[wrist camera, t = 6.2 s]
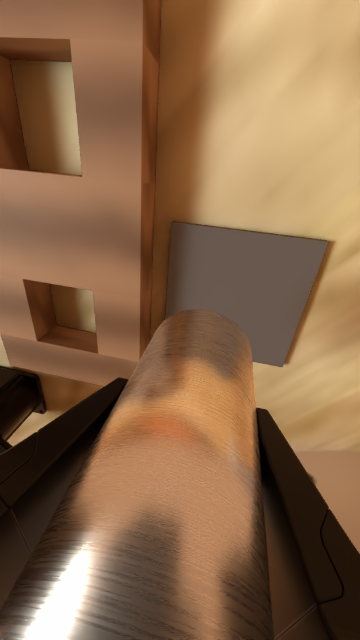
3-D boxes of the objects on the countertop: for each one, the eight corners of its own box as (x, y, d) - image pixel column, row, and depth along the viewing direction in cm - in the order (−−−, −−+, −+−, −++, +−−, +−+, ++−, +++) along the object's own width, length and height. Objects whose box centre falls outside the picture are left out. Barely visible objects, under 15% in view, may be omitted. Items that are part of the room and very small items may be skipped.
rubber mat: (281, 363, 23) (282, 367, 23) (164, 341, 24) (163, 344, 24) (326, 240, 18) (328, 241, 17) (173, 221, 19) (171, 222, 19)
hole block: (148, 373, 27) (139, 394, 24) (30, 348, 29) (10, 365, 26) (162, -38, 13) (144, -91, 11) (-66, -34, 15) (-129, -79, 12)
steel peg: (239, 400, 13) (242, 824, 4) (150, 380, 14) (0, 718, 5) (263, 320, 11) (368, 892, 2) (154, 300, 11) (-116, 678, 3)
